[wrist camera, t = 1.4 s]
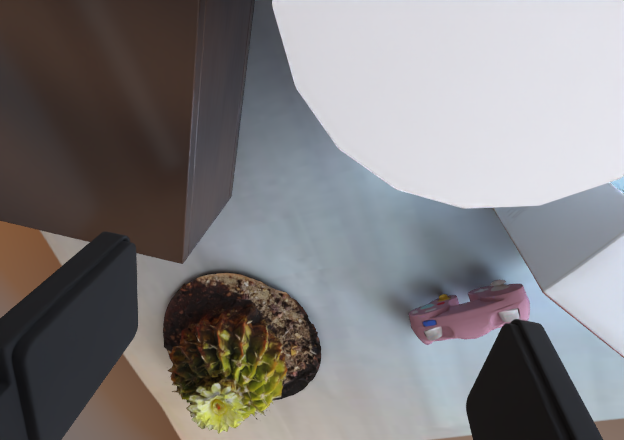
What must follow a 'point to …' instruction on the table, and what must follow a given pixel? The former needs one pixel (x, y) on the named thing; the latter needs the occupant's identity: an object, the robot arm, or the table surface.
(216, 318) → the cactus
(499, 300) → the video game controller
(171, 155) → the cabinet
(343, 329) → the table surface
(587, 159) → the milk container
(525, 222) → the small box
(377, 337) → the table surface
